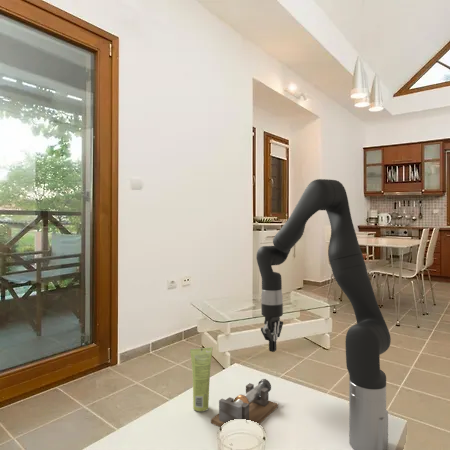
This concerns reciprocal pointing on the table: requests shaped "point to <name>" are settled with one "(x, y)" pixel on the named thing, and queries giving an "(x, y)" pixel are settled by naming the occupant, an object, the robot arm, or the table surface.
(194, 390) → the tube
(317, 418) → the table surface
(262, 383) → the shaft
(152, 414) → the table surface
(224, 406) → the bearing board
